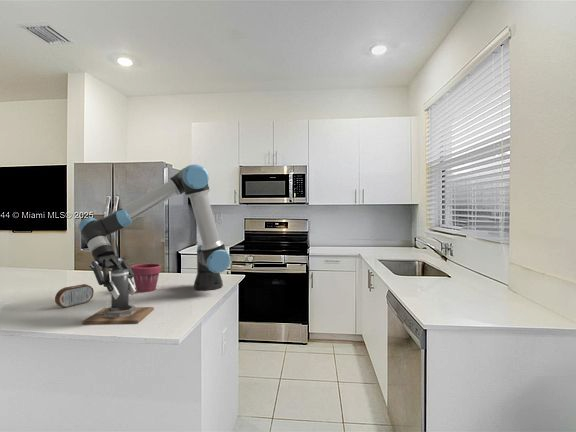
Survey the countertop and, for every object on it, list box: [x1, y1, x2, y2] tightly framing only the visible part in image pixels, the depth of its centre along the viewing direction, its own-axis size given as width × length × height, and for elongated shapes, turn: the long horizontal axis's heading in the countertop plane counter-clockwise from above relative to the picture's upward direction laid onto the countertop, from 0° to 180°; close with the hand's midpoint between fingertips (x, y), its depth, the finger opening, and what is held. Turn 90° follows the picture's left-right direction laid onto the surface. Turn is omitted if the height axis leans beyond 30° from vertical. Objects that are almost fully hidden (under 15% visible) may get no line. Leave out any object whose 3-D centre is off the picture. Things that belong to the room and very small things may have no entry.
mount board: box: [81, 304, 155, 325], centre depth 126 cm, size 20×16×3 cm
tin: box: [54, 283, 95, 308], centre depth 141 cm, size 15×3×8 cm, turn 151°
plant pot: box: [130, 263, 162, 293], centre depth 167 cm, size 14×14×13 cm
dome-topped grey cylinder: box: [110, 269, 130, 308], centre depth 126 cm, size 6×6×14 cm
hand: (125, 294), depth 124 cm, fingers closed on dome-topped grey cylinder, 6 cm apart
